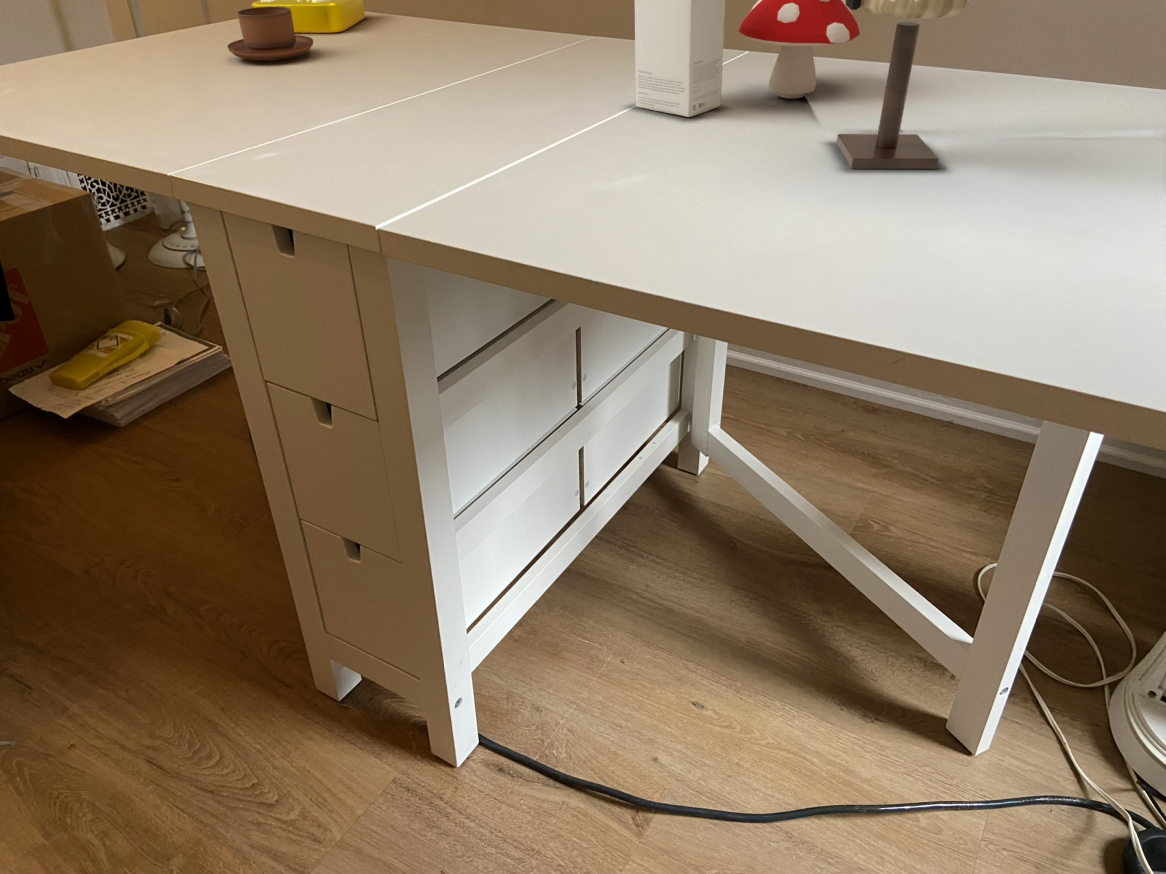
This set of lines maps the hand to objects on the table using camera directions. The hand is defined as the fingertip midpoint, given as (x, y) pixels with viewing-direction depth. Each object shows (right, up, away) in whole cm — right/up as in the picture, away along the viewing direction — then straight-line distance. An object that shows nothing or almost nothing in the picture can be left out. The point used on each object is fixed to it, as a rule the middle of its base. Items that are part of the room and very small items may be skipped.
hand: (869, 5), depth 79 cm
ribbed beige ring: (+4, 0, -1) cm, 4 cm away
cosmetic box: (-15, -1, +23) cm, 28 cm away
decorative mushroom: (-1, +2, +27) cm, 27 cm away
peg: (+4, -11, +8) cm, 14 cm away
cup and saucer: (-71, +17, +50) cm, 88 cm away
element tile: (-72, +31, +70) cm, 105 cm away
